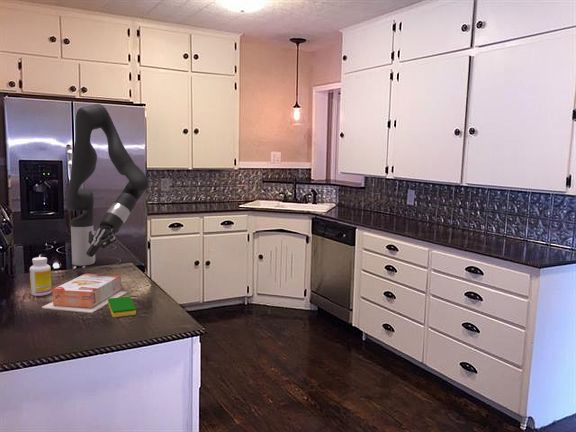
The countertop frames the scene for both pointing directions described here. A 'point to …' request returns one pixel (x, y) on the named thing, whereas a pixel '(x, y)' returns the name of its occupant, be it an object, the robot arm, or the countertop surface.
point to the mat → (84, 309)
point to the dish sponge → (121, 306)
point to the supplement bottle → (40, 277)
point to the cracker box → (86, 290)
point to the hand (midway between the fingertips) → (88, 255)
